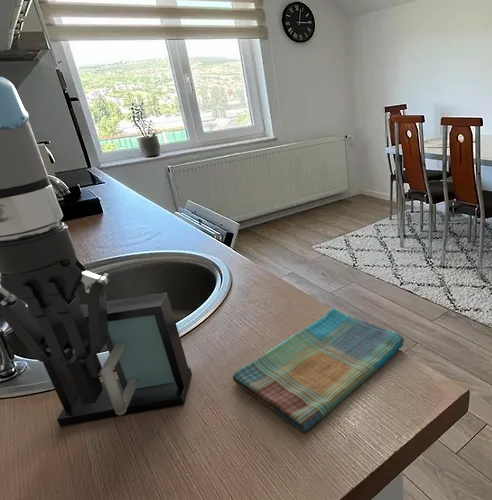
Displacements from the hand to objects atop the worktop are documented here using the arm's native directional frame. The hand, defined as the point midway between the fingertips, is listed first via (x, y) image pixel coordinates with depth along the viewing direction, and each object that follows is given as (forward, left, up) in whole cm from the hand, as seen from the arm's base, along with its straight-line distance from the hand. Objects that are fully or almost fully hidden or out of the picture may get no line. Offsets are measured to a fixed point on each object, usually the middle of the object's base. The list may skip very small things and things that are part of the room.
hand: (93, 396), depth 55 cm
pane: (+4, +3, -5) cm, 7 cm away
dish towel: (+31, +7, -7) cm, 32 cm away
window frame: (+1, +6, -7) cm, 9 cm away
